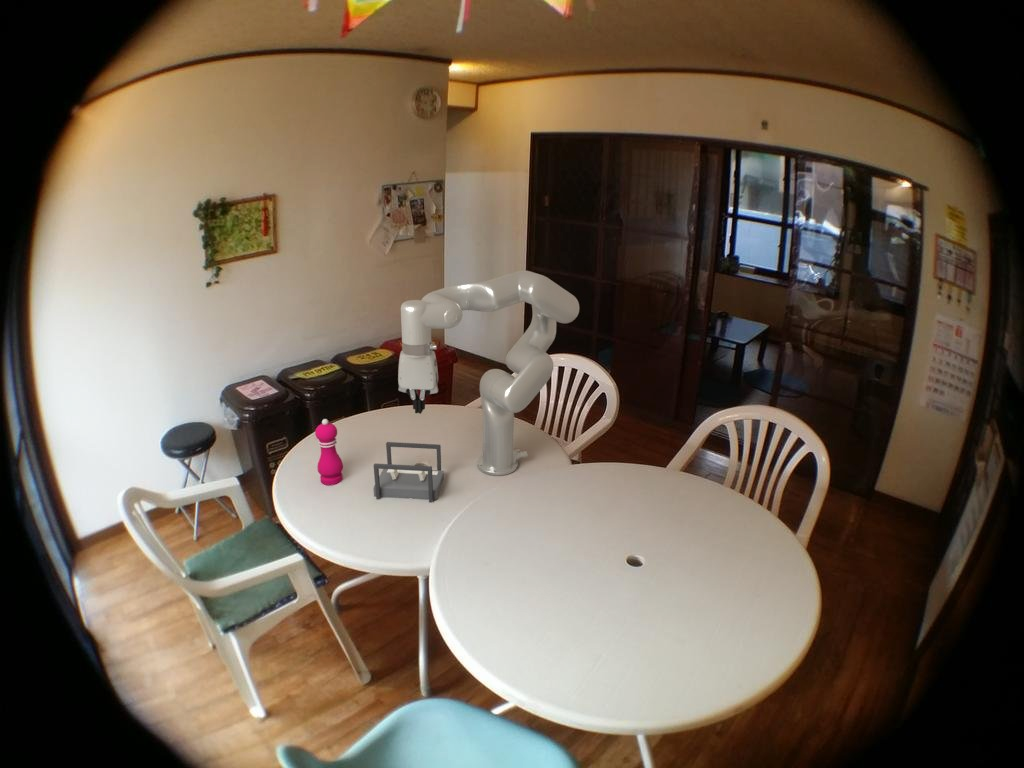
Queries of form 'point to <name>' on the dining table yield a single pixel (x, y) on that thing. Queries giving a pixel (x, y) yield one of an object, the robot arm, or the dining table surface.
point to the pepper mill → (328, 454)
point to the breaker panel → (409, 484)
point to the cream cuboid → (422, 475)
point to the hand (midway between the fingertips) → (419, 411)
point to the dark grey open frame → (407, 467)
